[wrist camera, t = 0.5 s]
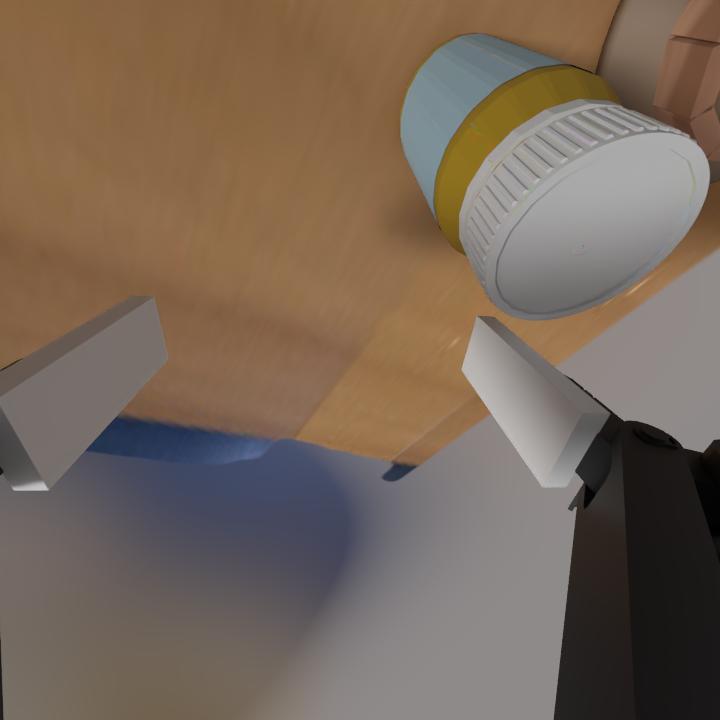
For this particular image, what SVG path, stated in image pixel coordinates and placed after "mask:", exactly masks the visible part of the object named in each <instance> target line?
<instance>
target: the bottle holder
mask: <svg viewBox="0 0 720 720" xmlns="http://www.w3.org/2000/svg"><path fill="white" fill-rule="evenodd" d="M595 75H597V76H600V77H601V78H603V79H604V80H606V81H607V83H608V84H609V85H610V87H611V88H612V89H613V90H614V92H615V93H616V94H617V96H618V97H619V100H620V102H621V105H622V107H624V108H626V109H628V110H634V111H636V112H639V113H641V114H643V115H646V116H648V117H650V118H653V119H655V120H657V121H659V122H662V123H664V124H666V125H669V126H671V127H673V128H676V129H678V130H680V131H682V132H684V133H686V134H688V135H690V138H692V139H694V140H695V141H696V142H697V145H698V146H699V147H701V149H702V151H703V152H704V154H705V156H706V158H707V160H708V164H709V170H710V180H709V184H710V183H713V182H716V181H719V180H720V0H621V1H620V3H619V5H618V8H617V10H616V12H615V14H614V17H613V20H612V22H611V25H610V28H609V31H608V33H607V36H606V39H605V42H604V44H603V47H602V51H601V55H600V58H599V62H598V66H597V69H596V73H595Z"/></svg>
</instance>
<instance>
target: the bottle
mask: <svg viewBox="0 0 720 720" xmlns="http://www.w3.org/2000/svg"><path fill="white" fill-rule="evenodd" d="M399 134H400V140H401V143H402V147H403V150H404V153H405V156H406V158H407V160H408V162H409V165H410V167H411V169H412V171H413V173H414V175H415V177H416V179H417V181H418V183H419V186H420V188H421V190H422V192H423V194H424V196H425V198H426V200H427V202H428V204H429V207H430V209H431V211H432V213H433V215H434V217H435V219H436V221H437V223H438V225H439V227H440V229H441V231H442V232H443V234H444V236H445V237H446V239H447V240H448V241H449V243H450V244H451V246H452V247H453V248H454V249H455V250H457V251H458V252H460V253H462V254H463V255H465V256H467V258H468V260H469V262H470V264H471V267H472V269H473V271H474V272H475V274H476V276H477V278H478V280H479V282H480V284H481V286H482V288H483V290H484V292H485V294H486V295H487V297H488V298H489V300H490V301H491V302H492V303H494V305H495V306H496V307H497V308H498V309H500V310H501V311H502V312H504V313H506V314H507V315H510V316H512V317H515V318H519V319H524V320H550V319H557V318H562V317H566V316H570V315H573V314H576V313H579V312H582V311H585V310H587V309H590V308H592V307H595V306H597V305H599V304H601V303H603V302H605V301H607V300H609V299H611V298H613V297H615V296H616V295H618V294H620V293H621V292H623V291H625V290H626V289H628V288H629V287H631V286H632V285H634V284H635V283H636V282H638V281H639V280H640V279H642V278H643V277H644V276H646V275H647V274H648V273H649V272H651V271H652V270H653V269H654V268H655V267H656V266H657V265H659V264H660V263H661V262H662V261H663V260H664V259H665V258H666V257H667V256H668V255H669V254H670V253H671V252H672V251H673V250H674V248H675V247H676V246H677V245H678V244H679V243H680V241H681V240H682V239H683V238H684V236H685V235H686V234H687V232H688V231H689V229H690V228H691V226H692V225H693V223H694V222H695V220H696V218H697V216H698V214H699V213H700V210H701V208H702V206H703V204H704V201H705V198H706V195H707V192H708V187H709V180H710V170H709V164H708V160H707V158H706V156H705V154H704V152H703V151H702V149H701V147H699V146H698V145H697V142H696V141H695V140H694V139H692V138H690V135H688V134H686V133H684V132H682V131H680V130H678V129H676V128H673V127H671V126H669V125H666V124H664V123H662V122H659V121H657V120H655V119H653V118H650V117H648V116H646V115H643V114H641V113H639V112H636V111H634V110H628V109H626V108H624V107H622V105H621V102H620V100H619V97H618V96H617V94H616V93H615V92H614V90H613V89H612V88H611V87H610V85H609V84H608V83H607V81H606V80H604V79H603V78H601V77H600V76H597V75H595V74H593V73H592V72H590V71H587V70H585V69H582V68H579V67H576V66H573V65H571V64H568V63H565V62H562V61H559V60H557V59H554V58H551V57H548V56H545V55H543V54H540V53H537V52H534V51H531V50H529V49H526V48H523V47H520V46H517V45H515V44H512V43H509V42H506V41H503V40H501V39H498V38H495V37H492V36H489V35H487V34H481V33H470V34H463V35H458V36H455V37H453V38H451V39H449V40H448V41H446V42H444V43H442V44H441V45H439V46H438V47H436V48H435V49H434V50H433V51H432V52H431V53H430V54H429V55H428V56H427V57H426V58H425V59H424V60H423V61H422V63H421V64H420V65H419V66H418V68H417V69H416V71H415V73H414V75H413V76H412V78H411V80H410V82H409V84H408V86H407V88H406V91H405V94H404V97H403V101H402V105H401V109H400V115H399Z"/></svg>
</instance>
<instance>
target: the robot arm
mask: <svg viewBox="0 0 720 720" xmlns="http://www.w3.org/2000/svg"><path fill="white" fill-rule="evenodd" d="M167 360H168V354H167V350H166V346H165V341H164V337H163V333H162V328H161V324H160V320H159V315H158V311H157V307H156V302H155V298H154V297H150V296H131V297H129V298H128V299H126V300H124V301H122V302H121V303H119V304H117V305H116V306H114V307H112V308H110V309H109V310H107V311H105V312H103V313H102V314H100V315H98V316H96V317H95V318H93V319H91V320H89V321H88V322H86V323H84V324H82V325H81V326H79V327H77V328H76V329H74V330H72V331H70V332H69V333H67V334H65V335H63V336H62V337H60V338H58V339H56V340H55V341H53V342H51V343H49V344H48V345H46V346H44V347H43V348H41V349H39V350H37V351H36V352H34V353H32V354H30V355H29V356H27V357H25V358H23V359H20V360H17V361H16V362H14V363H12V364H10V365H9V366H7V367H5V368H3V369H2V370H0V475H1V474H2V473H3V474H4V476H5V478H6V479H7V481H8V482H9V484H10V485H11V487H12V488H13V490H49V489H50V488H51V487H52V486H53V485H54V484H55V483H56V482H57V480H58V479H59V478H60V477H61V476H62V475H63V474H64V473H65V472H66V471H67V470H68V468H69V467H70V466H71V465H72V464H73V463H74V462H75V461H76V460H77V459H78V457H79V456H80V455H81V454H82V453H83V452H84V451H85V450H86V449H87V448H88V447H89V446H90V444H91V443H92V442H93V441H94V440H95V439H96V438H97V437H98V436H99V435H100V433H101V432H102V431H103V430H104V429H105V428H106V427H107V426H108V425H109V424H110V423H111V421H112V420H113V419H114V418H115V417H116V416H117V415H118V414H119V413H120V412H121V411H122V409H123V408H124V407H125V406H126V405H127V404H128V403H129V402H130V401H131V400H132V398H133V397H134V396H135V395H136V394H137V393H138V392H139V391H140V390H141V389H142V388H143V386H144V385H145V384H146V383H147V382H148V381H149V380H150V379H151V378H152V377H153V376H154V374H155V373H156V372H157V371H158V370H159V369H160V368H161V367H162V366H163V365H164V363H165V362H166V361H167ZM462 372H463V373H464V375H465V376H466V377H467V379H468V380H469V382H470V383H471V385H472V386H473V387H474V389H475V390H476V392H477V393H478V395H479V396H480V398H481V399H482V400H483V402H484V403H485V405H486V406H487V408H488V409H489V411H490V412H491V413H492V415H493V416H494V418H495V419H496V421H497V422H498V424H499V425H500V426H501V428H502V429H503V431H504V432H505V434H506V435H507V437H508V438H509V439H510V440H511V442H512V443H513V445H514V447H515V448H516V450H517V451H518V452H519V454H520V455H521V457H522V458H523V460H524V461H525V463H526V464H527V465H528V467H529V468H530V470H531V471H532V472H533V474H534V475H535V477H536V478H537V480H538V481H539V483H540V484H541V486H542V487H567V485H568V484H569V482H570V480H571V479H572V477H573V475H574V474H575V472H576V473H577V474H578V475H579V476H580V478H581V479H582V480H583V481H584V483H583V485H582V487H581V488H580V490H579V492H578V493H577V495H576V496H575V498H574V499H573V501H572V502H571V504H570V506H569V508H568V509H569V510H571V511H572V510H573V509H574V507H577V511H576V520H575V529H574V539H573V548H572V557H571V566H570V575H569V584H568V594H567V603H566V612H565V621H564V630H563V639H562V648H561V658H560V666H559V667H560V668H559V676H558V685H557V694H556V703H555V713H554V720H720V439H719V440H714V441H713V442H712V443H711V444H710V445H709V447H708V448H707V449H706V450H705V451H704V453H701V452H697V451H693V450H688V449H684V448H683V447H682V446H681V444H680V443H679V442H678V441H677V440H676V439H674V438H673V437H672V436H670V435H669V434H667V433H665V432H664V431H662V430H660V429H658V428H655V427H653V426H651V425H648V424H645V423H641V422H638V421H625V422H624V421H623V420H622V419H621V418H619V417H618V416H617V415H615V414H614V413H613V412H612V411H611V410H610V409H608V408H607V407H606V406H605V405H603V404H602V403H601V402H600V401H599V400H597V399H596V398H593V396H592V395H591V394H590V393H589V392H588V391H586V390H584V388H583V387H581V386H580V385H579V384H578V383H576V382H575V381H574V380H573V379H571V378H569V377H567V376H566V375H564V374H562V373H561V372H560V371H559V370H557V369H556V368H555V367H554V366H553V365H551V364H550V363H549V362H548V361H547V360H545V359H544V358H543V357H542V356H540V355H539V354H538V353H537V352H536V351H534V350H533V349H532V348H531V347H530V346H528V345H527V344H526V343H525V342H524V341H522V340H521V339H520V338H519V337H518V336H516V335H515V334H514V333H513V332H512V331H510V330H509V329H508V328H507V327H506V326H504V325H503V324H502V323H501V322H499V321H498V320H497V319H496V318H495V317H489V316H477V318H476V321H475V325H474V328H473V332H472V335H471V339H470V342H469V346H468V349H467V353H466V356H465V360H464V363H463V367H462ZM0 720H3V696H2V667H1V640H0Z"/></svg>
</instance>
